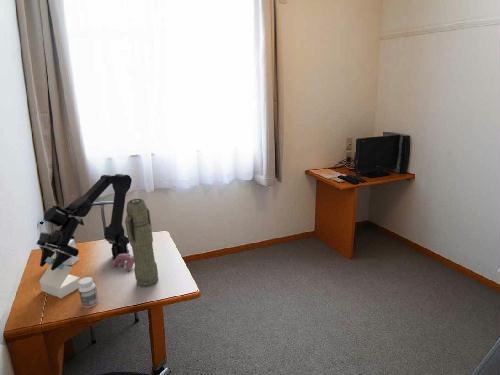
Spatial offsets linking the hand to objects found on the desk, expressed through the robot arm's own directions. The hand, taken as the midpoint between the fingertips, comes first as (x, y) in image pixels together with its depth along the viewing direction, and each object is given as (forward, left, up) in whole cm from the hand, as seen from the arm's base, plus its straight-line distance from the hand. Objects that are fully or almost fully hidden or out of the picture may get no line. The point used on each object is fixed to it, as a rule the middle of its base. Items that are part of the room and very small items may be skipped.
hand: (46, 268), depth 136 cm
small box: (+1, -27, -12) cm, 29 cm away
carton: (-3, -3, -11) cm, 12 cm away
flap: (-2, -2, -5) cm, 5 cm away
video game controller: (-26, -14, -12) cm, 31 cm away
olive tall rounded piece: (-37, +1, -12) cm, 38 cm away
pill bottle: (-17, +11, -12) cm, 23 cm away
